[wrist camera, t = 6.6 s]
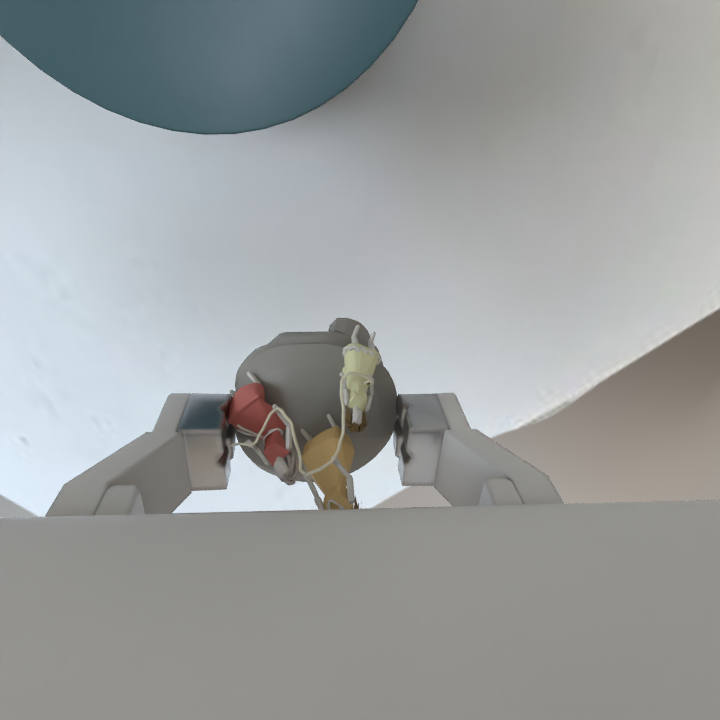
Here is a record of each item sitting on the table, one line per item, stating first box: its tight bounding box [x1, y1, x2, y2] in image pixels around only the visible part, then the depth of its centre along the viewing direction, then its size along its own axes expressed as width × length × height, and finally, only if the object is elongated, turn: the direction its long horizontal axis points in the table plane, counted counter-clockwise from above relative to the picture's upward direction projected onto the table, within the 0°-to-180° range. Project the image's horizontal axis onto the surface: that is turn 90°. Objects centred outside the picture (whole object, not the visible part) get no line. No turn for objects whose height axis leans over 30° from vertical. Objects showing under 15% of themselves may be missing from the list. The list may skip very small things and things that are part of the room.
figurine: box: [228, 318, 397, 510], centre depth 12 cm, size 5×4×6 cm
